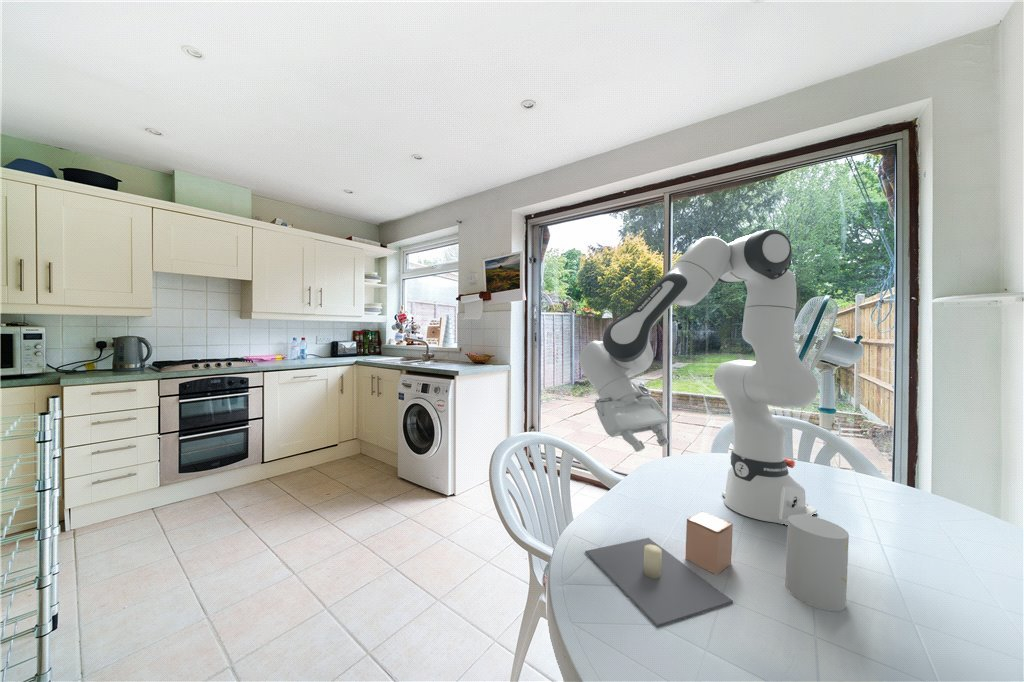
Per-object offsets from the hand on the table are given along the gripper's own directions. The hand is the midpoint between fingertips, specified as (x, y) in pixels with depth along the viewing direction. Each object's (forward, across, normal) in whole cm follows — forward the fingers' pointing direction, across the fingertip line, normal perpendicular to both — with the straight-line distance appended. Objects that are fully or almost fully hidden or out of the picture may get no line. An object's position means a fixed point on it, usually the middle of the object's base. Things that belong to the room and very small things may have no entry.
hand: (653, 447), depth 82 cm
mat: (+20, -13, +7) cm, 25 cm away
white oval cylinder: (+33, +7, -6) cm, 35 cm away
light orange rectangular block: (+23, +1, +5) cm, 23 cm away
